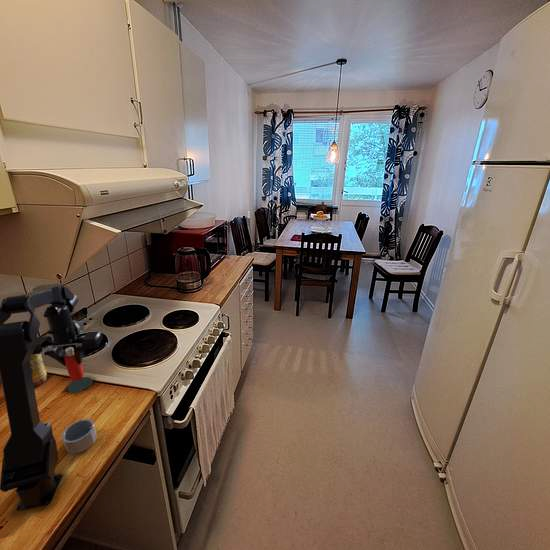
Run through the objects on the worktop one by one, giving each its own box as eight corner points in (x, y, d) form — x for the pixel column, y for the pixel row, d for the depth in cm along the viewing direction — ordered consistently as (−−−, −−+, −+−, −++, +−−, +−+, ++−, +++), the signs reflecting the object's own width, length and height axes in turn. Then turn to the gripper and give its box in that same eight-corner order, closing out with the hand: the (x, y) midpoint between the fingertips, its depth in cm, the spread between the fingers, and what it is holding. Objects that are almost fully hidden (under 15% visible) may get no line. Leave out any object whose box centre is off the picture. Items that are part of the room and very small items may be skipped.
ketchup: (81, 379, 93) (72, 352, 89) (68, 381, 92) (59, 353, 88) (85, 372, 96) (78, 344, 92) (73, 373, 95) (64, 346, 91)
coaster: (87, 391, 93) (87, 390, 93) (63, 394, 92) (63, 393, 91) (95, 376, 99) (95, 375, 99) (72, 379, 98) (72, 378, 98)
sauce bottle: (35, 389, 93) (15, 338, 86) (19, 386, 95) (-1, 336, 87) (53, 375, 99) (36, 327, 92) (38, 373, 101) (20, 324, 93)
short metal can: (91, 452, 74) (87, 439, 72) (61, 457, 73) (56, 444, 71) (101, 428, 80) (97, 417, 79) (73, 433, 79) (68, 421, 77)
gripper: (103, 307, 95) (112, 346, 101) (39, 312, 92) (53, 352, 98) (90, 324, 85) (101, 366, 91) (19, 331, 82) (35, 374, 87)
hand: (73, 364), depth 92 cm, fingers closed on ketchup, 4 cm apart
